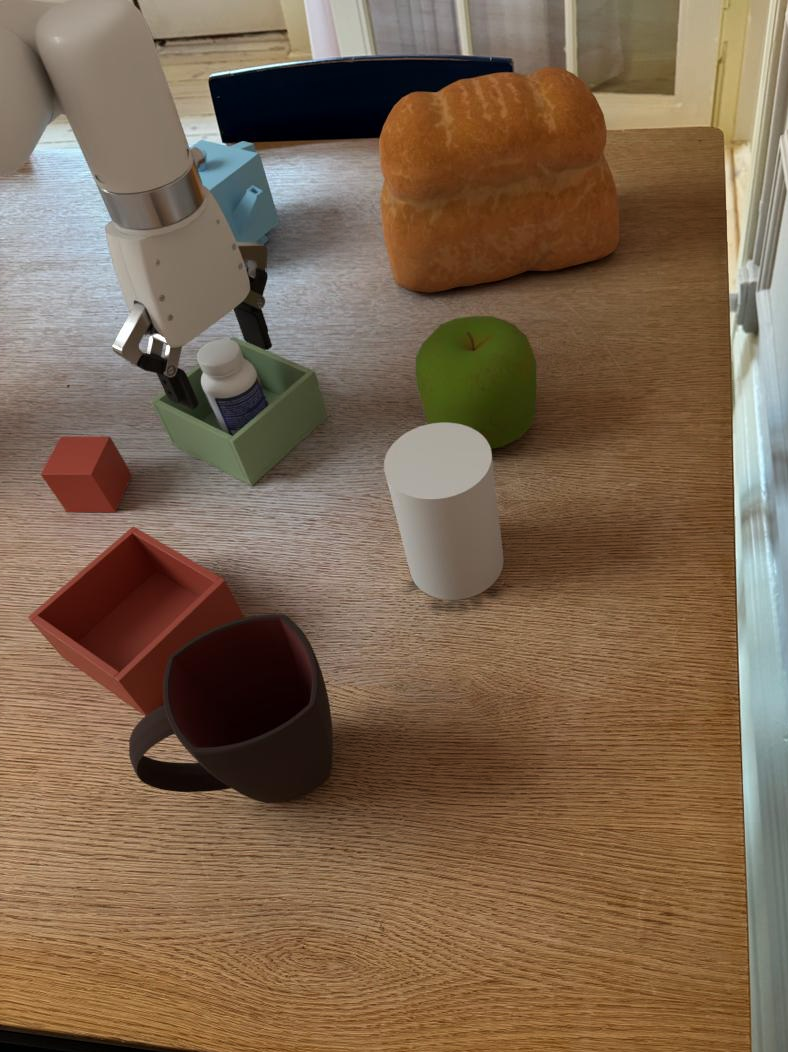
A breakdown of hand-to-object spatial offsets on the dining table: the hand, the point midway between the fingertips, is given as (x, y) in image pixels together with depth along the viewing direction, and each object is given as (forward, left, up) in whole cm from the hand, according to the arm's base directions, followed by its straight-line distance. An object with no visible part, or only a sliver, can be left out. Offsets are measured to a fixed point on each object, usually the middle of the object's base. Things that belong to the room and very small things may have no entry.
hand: (223, 373), depth 82 cm
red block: (-7, -14, -7) cm, 17 cm away
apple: (+20, +12, -7) cm, 25 cm away
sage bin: (0, 0, -7) cm, 7 cm away
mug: (+28, -27, -7) cm, 40 cm away
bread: (+4, +38, -7) cm, 39 cm away
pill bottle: (0, 0, -7) cm, 7 cm away
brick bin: (+11, -23, -7) cm, 26 cm away
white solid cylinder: (+28, -3, -7) cm, 29 cm away
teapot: (-27, +23, -7) cm, 36 cm away
